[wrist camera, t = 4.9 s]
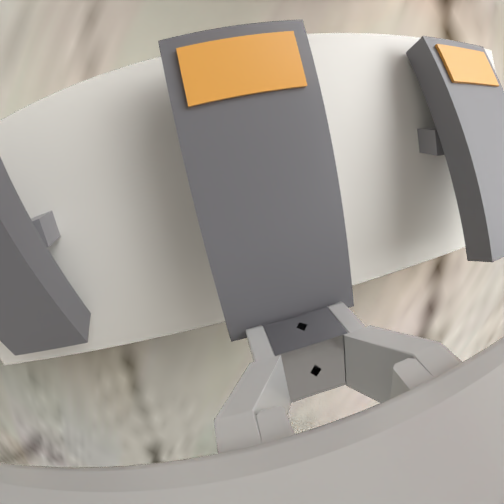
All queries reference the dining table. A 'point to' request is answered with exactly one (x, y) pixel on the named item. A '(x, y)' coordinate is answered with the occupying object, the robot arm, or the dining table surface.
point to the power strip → (180, 198)
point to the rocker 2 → (260, 170)
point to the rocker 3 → (468, 135)
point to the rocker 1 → (33, 285)
